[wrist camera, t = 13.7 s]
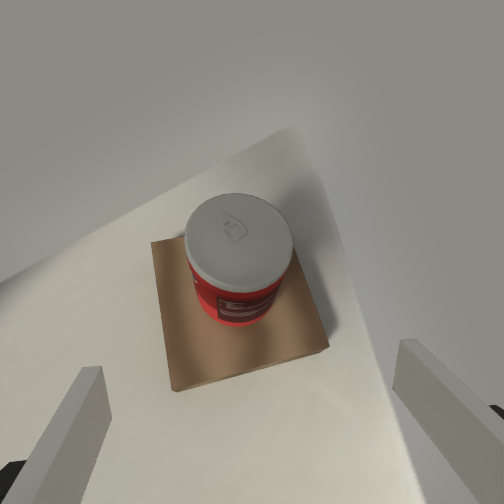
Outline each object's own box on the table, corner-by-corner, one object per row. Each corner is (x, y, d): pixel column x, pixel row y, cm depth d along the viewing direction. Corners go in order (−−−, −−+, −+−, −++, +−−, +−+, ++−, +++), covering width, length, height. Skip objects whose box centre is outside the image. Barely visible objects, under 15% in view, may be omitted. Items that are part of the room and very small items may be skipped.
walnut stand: (177, 392, 30) (171, 390, 27) (157, 256, 37) (150, 242, 33) (320, 352, 33) (329, 346, 30) (278, 233, 39) (282, 217, 36)
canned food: (226, 243, 34) (227, 175, 24) (288, 284, 32) (314, 229, 23) (180, 297, 31) (158, 244, 21) (245, 345, 29) (254, 312, 19)
